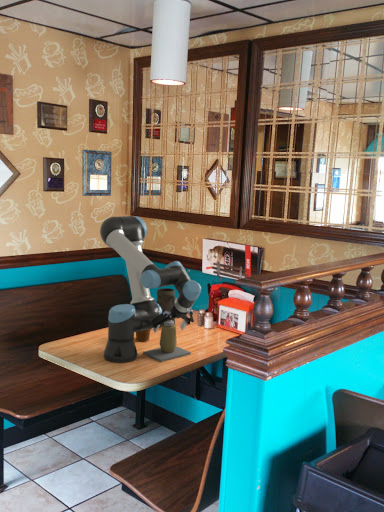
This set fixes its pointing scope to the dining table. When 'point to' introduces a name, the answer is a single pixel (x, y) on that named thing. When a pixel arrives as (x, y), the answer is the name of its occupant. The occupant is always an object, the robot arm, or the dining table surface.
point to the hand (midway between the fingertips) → (168, 329)
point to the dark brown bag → (166, 300)
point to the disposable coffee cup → (143, 335)
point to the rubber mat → (166, 354)
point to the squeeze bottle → (168, 337)
